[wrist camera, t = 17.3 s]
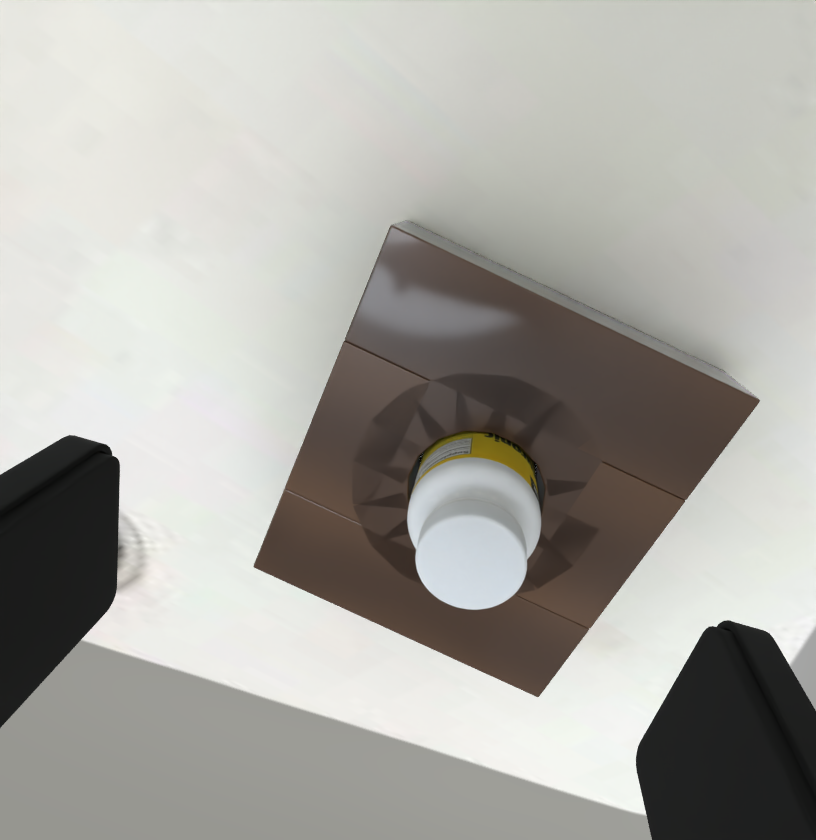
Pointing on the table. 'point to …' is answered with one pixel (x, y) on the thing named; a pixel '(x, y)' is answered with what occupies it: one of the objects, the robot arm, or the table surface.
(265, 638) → the table surface
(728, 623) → the robot arm
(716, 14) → the table surface
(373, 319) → the holder block
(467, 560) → the supplement bottle
